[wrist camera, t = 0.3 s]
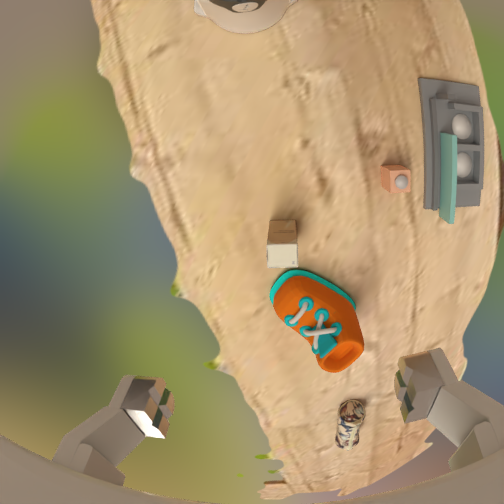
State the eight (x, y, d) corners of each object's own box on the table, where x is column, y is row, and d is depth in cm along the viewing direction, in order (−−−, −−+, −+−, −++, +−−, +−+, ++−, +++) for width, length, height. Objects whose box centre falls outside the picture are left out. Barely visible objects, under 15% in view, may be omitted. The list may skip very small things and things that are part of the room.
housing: (417, 78, 41) (431, 76, 36) (475, 86, 39) (492, 86, 34) (423, 207, 53) (436, 217, 47) (477, 204, 50) (491, 213, 45)
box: (295, 219, 56) (299, 243, 46) (296, 240, 58) (299, 268, 48) (268, 220, 57) (266, 244, 47) (269, 240, 59) (267, 269, 49)
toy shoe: (292, 257, 60) (296, 300, 46) (362, 300, 63) (379, 345, 50) (260, 298, 65) (255, 345, 51) (329, 334, 68) (337, 382, 55)
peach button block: (380, 165, 50) (391, 171, 45) (399, 164, 49) (412, 170, 44) (381, 186, 52) (392, 194, 47) (400, 184, 51) (412, 193, 46)
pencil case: (336, 400, 80) (339, 426, 72) (363, 396, 79) (368, 421, 70) (333, 432, 90) (336, 454, 81) (356, 429, 88) (360, 451, 80)
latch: (440, 132, 44) (451, 135, 40) (445, 132, 44) (456, 135, 40) (439, 215, 51) (449, 223, 48) (443, 215, 51) (453, 223, 47)
